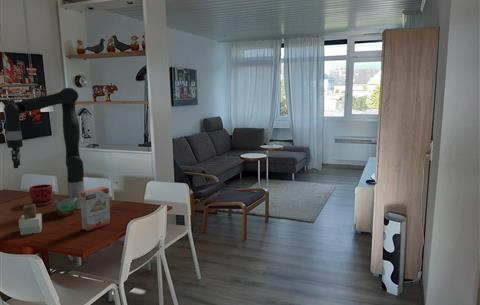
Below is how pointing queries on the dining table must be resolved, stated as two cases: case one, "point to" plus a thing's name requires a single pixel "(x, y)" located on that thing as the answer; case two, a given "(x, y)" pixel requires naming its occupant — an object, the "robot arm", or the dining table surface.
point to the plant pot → (41, 194)
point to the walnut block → (29, 211)
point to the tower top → (30, 221)
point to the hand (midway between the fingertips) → (17, 166)
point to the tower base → (31, 229)
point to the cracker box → (95, 208)
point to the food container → (66, 207)
